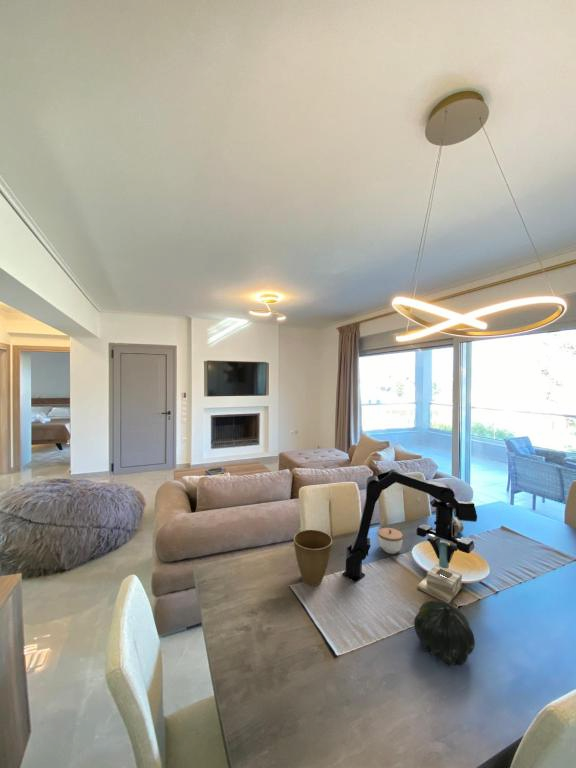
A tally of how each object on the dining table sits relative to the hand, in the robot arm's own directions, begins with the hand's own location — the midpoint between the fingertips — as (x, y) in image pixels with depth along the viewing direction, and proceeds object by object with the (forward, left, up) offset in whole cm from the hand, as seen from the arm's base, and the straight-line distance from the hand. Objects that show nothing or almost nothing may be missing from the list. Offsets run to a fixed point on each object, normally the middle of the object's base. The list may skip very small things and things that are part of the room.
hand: (443, 560), depth 116 cm
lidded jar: (+9, +27, -10) cm, 30 cm away
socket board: (-2, +1, -10) cm, 10 cm away
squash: (-29, -11, -10) cm, 33 cm away
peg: (0, 0, -2) cm, 2 cm away
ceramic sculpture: (+46, +14, -10) cm, 49 cm away
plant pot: (-33, +36, -10) cm, 50 cm away
